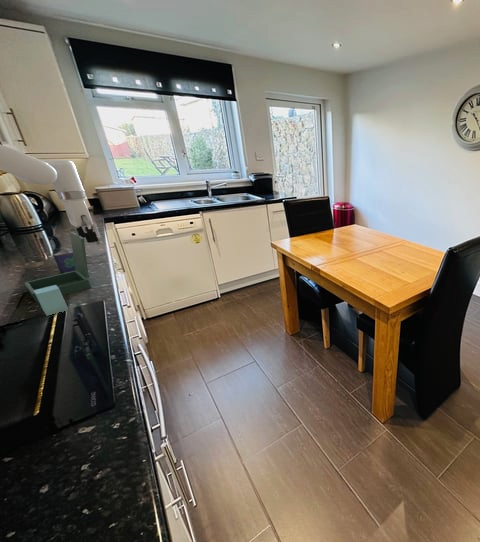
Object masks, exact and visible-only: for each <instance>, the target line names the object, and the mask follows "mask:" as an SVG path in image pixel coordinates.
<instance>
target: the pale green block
mask: <svg viewBox="0 0 480 542" xmlns="http://www.w3.org/2000/svg"><path fill="white" fill-rule="evenodd" d="M33 291H34V293H35V295H36V297H37V299H38V301H39V302H38V303H39V305H40V307H41V309H42V311H43V312H44V314H45V316H46V317H47V316H48V315H52V314H55V313H59V312H62V313H65V312H69V311H70V310H69V307H68V305H67V303H66V301H65V299H64V295H63V296H62V294H61V292H60V289H59V288H58V287H57V286H56V285H53V286H49V287H45V288H41V289H37V290H33ZM64 311H65V312H64ZM59 314H60V313H59ZM52 316H53V315H52Z"/></svg>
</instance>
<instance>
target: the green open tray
mask: <svg viewBox="0 0 480 542" xmlns="http://www.w3.org/2000/svg"><path fill="white" fill-rule="evenodd" d="M23 285H24V286H25V287H26V290H27V292H28V293H29V294H30V296H31V297H32V298H33V300H34V302H35V303H36V304H37V303H39V301H38V299H37V297H36V295H35V293H34V291H33V290H37V289H41V288H45V287H49V286H53V285H56V286H57V287H58V288H59V289H60V292H61V294H62V296H63V297H64V296H66V295H70V294H74V293H77V292H82V291H85V290H88V289H92V285H91V283H90V280H89V278H88V279H86V278H85V277H84V276H83V275H82V274H80V273H79V272H78V271H77V270H75V271H70V272H66V273H59V274H54V275H50V276H46V277H42V278H38V279H34V280H29V281H25V282H23Z"/></svg>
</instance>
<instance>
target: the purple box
mask: <svg viewBox="0 0 480 542" xmlns="http://www.w3.org/2000/svg"><path fill="white" fill-rule="evenodd" d="M53 258H54V261H55V263H56V266H57V268H58V271H59V272H60V274H63V273H67V272H72V271H76V269H75V264H74V257H73V250H70V248H69V247H67V248H64V251H60V252H57V253H55V254H53ZM87 265H88V263H87ZM88 266H89V265H88Z"/></svg>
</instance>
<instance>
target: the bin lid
mask: <svg viewBox="0 0 480 542" xmlns="http://www.w3.org/2000/svg"><path fill="white" fill-rule="evenodd" d="M69 237H70V244H71V249H72V250H71V251H73V257H74V264H75V269H76V270H77V271H78V272H79V273H80V274H82V275H83V276H84V277H85V278H86V279H88V280H89V279H90V274H89V265H87V264H88V259H87V251H86V244H85V243H88V242H87V240H86V238H82V237H80V236H79V234H78V233H75V232H74V231H69ZM92 243H93V244H94V243H96V242H92ZM76 270H75V271H76Z"/></svg>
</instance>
